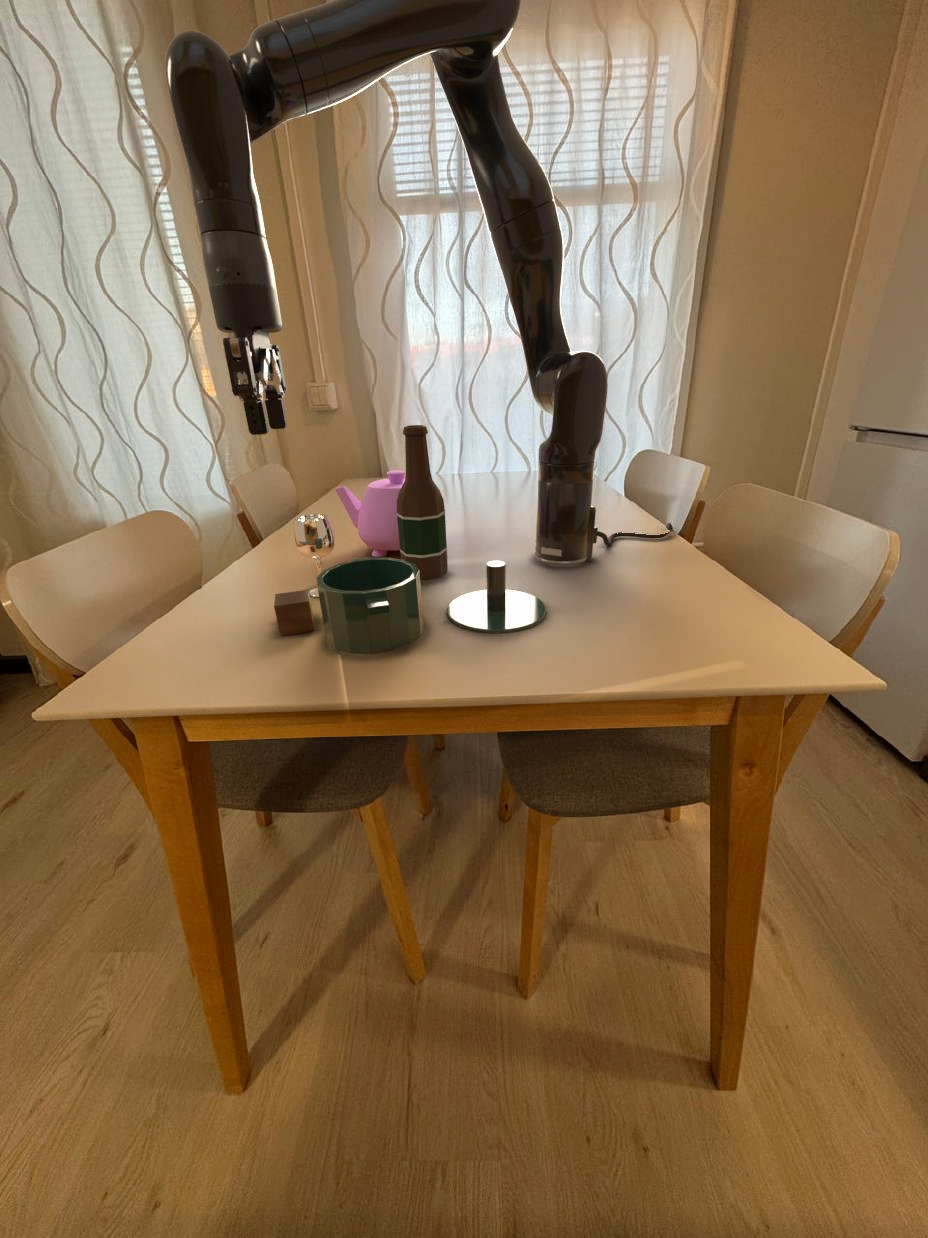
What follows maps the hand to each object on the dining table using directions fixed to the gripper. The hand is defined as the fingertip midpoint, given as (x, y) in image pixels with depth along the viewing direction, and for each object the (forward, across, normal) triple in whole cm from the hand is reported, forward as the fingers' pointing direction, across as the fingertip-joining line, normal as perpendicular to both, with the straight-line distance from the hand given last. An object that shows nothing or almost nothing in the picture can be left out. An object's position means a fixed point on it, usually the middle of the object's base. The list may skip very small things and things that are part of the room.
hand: (269, 431), depth 66 cm
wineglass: (+25, +4, -2) cm, 25 cm away
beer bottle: (+25, +9, -19) cm, 32 cm away
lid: (+24, -8, -29) cm, 39 cm away
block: (+25, -9, -1) cm, 26 cm away
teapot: (+25, +27, -12) cm, 39 cm away
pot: (+25, -12, -13) cm, 30 cm away
